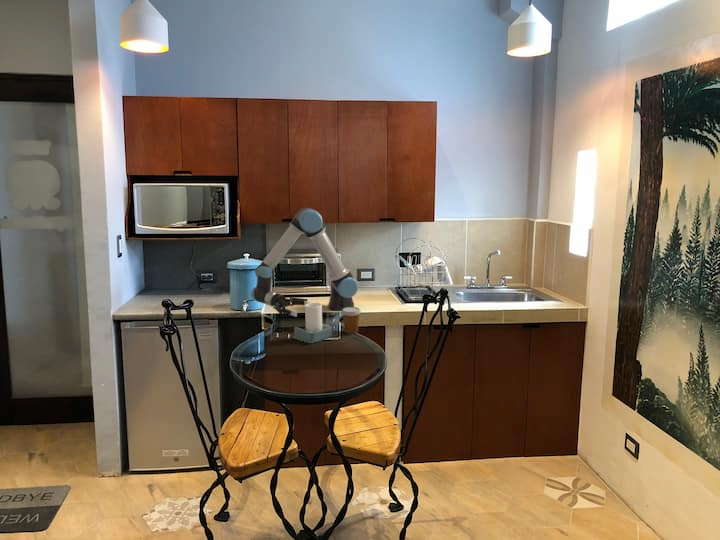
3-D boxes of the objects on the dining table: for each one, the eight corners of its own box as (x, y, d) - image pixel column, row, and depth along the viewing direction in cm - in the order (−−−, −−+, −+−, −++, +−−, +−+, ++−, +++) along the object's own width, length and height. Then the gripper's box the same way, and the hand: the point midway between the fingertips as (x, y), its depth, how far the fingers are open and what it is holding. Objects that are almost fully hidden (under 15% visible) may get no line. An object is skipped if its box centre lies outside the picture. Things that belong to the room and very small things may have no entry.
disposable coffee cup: (358, 335, 282) (358, 312, 279) (340, 334, 284) (339, 311, 281) (362, 329, 291) (362, 307, 288) (344, 328, 293) (344, 306, 290)
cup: (318, 332, 286) (318, 301, 282) (325, 337, 279) (324, 305, 275) (303, 334, 282) (302, 303, 279) (309, 339, 275) (308, 308, 272)
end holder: (317, 330, 291) (317, 320, 290) (335, 336, 281) (335, 326, 280) (293, 337, 280) (292, 328, 279) (311, 344, 270) (311, 334, 269)
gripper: (291, 300, 309) (321, 310, 297) (258, 313, 290) (288, 324, 278) (291, 287, 307) (321, 296, 295) (257, 299, 288) (288, 310, 276)
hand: (305, 310), depth 287 cm, fingers open, 13 cm apart
